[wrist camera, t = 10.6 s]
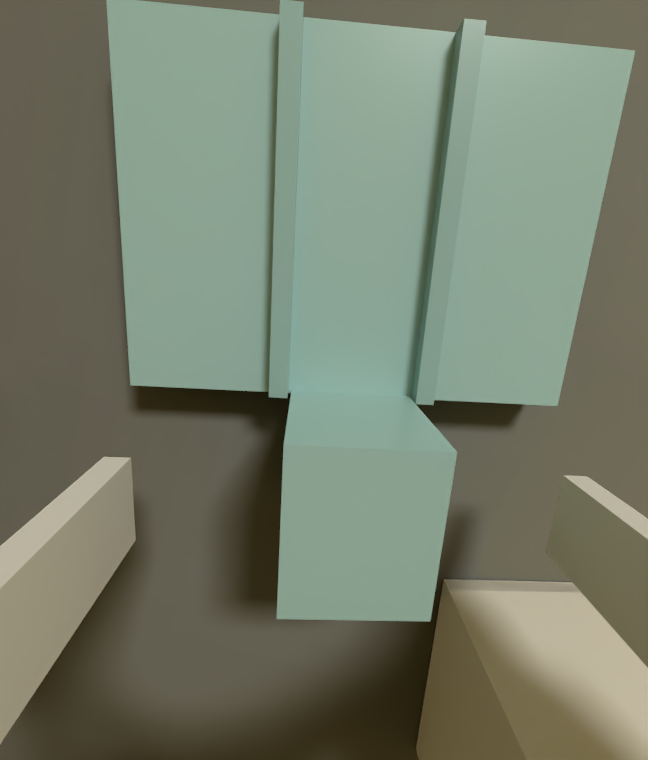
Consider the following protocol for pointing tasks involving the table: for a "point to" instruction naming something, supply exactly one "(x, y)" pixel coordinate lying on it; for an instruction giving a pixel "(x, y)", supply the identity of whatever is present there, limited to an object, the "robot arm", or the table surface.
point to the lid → (356, 253)
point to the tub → (530, 678)
